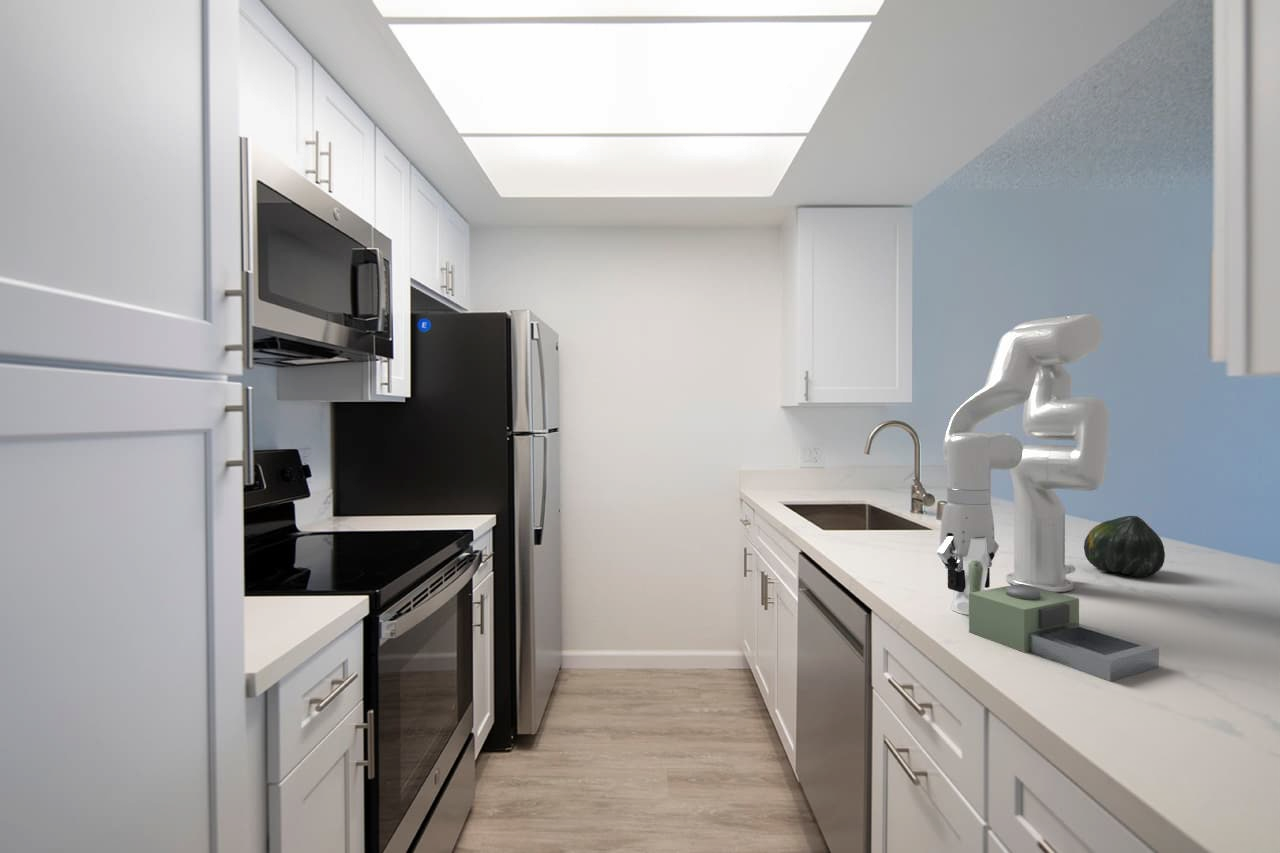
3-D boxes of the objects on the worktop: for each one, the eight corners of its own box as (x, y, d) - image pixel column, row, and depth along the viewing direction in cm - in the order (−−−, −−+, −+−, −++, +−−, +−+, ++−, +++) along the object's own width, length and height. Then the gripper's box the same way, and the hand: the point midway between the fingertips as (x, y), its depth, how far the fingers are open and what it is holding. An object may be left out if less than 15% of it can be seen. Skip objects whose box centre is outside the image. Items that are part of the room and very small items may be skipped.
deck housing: (1022, 620, 111) (1022, 578, 111) (1082, 640, 102) (1082, 593, 101) (969, 631, 106) (969, 587, 106) (1027, 653, 96) (1027, 604, 96)
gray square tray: (1075, 639, 102) (1075, 622, 102) (1158, 666, 91) (1158, 647, 91) (1028, 651, 97) (1028, 633, 97) (1110, 681, 86) (1110, 660, 86)
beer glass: (955, 602, 122) (955, 530, 122) (993, 610, 117) (993, 534, 117) (943, 611, 117) (943, 535, 117) (982, 619, 112) (982, 540, 112)
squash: (1075, 540, 155) (1089, 502, 146) (1147, 546, 149) (1166, 508, 140) (1085, 586, 146) (1100, 550, 136) (1162, 595, 140) (1184, 558, 130)
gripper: (981, 492, 124) (981, 578, 124) (920, 497, 117) (920, 588, 117) (1016, 497, 117) (1016, 587, 117) (953, 502, 110) (953, 599, 110)
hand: (968, 587), depth 117 cm, fingers closed on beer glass, 6 cm apart
